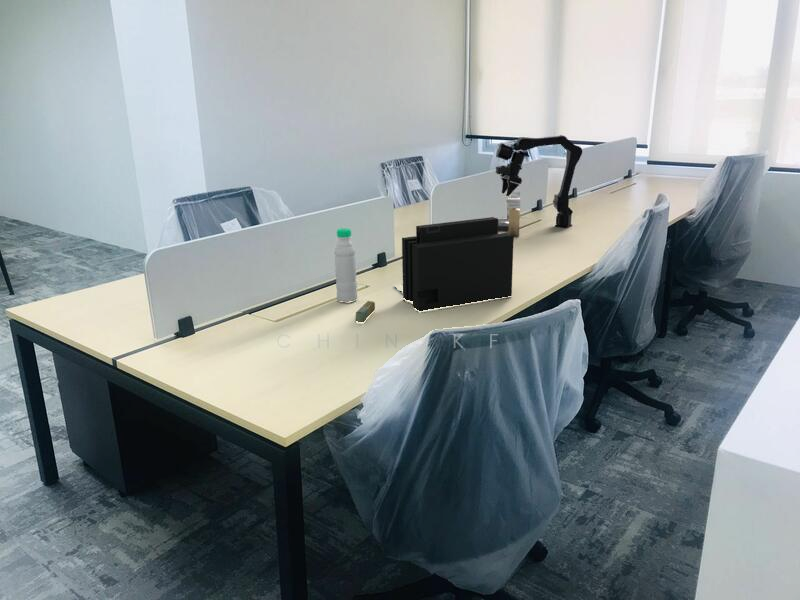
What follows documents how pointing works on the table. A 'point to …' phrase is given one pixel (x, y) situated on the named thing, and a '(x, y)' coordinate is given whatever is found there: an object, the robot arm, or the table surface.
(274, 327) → the table surface
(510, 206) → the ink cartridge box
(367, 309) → the medication box
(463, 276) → the game console
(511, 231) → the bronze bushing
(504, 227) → the turntable base
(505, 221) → the turntable platter
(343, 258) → the water bottle
